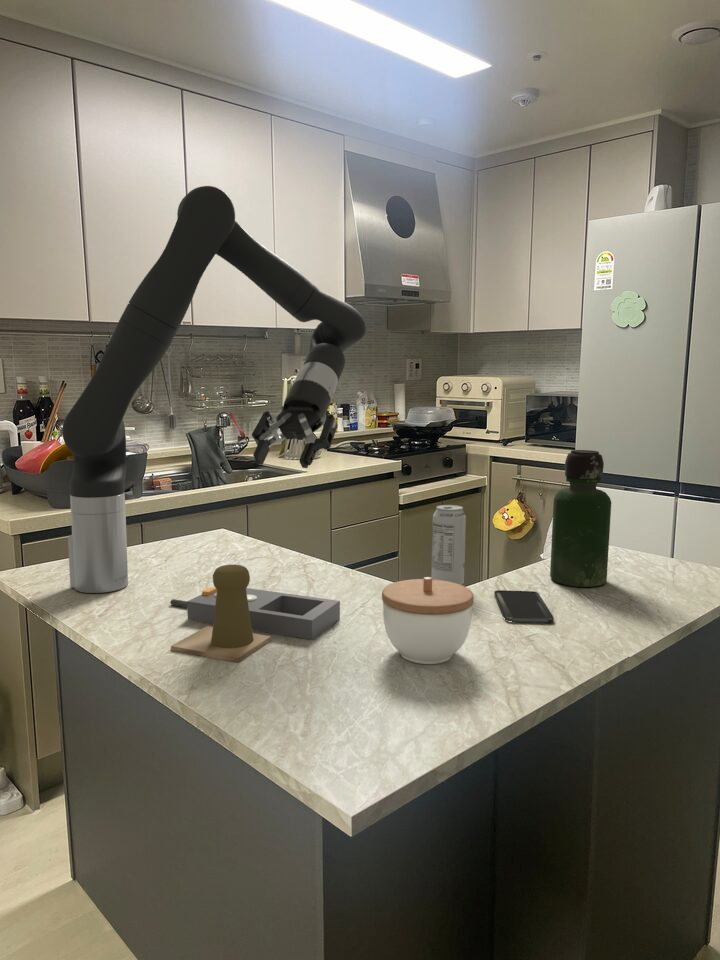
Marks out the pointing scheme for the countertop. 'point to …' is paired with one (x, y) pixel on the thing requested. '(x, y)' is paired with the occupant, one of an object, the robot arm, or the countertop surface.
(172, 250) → the robot arm
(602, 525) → the green bottle
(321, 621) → the charging strip
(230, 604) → the pepper shaker
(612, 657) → the countertop surface
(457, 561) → the energy drink can
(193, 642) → the cork pad
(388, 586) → the lidded bowl
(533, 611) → the phone
